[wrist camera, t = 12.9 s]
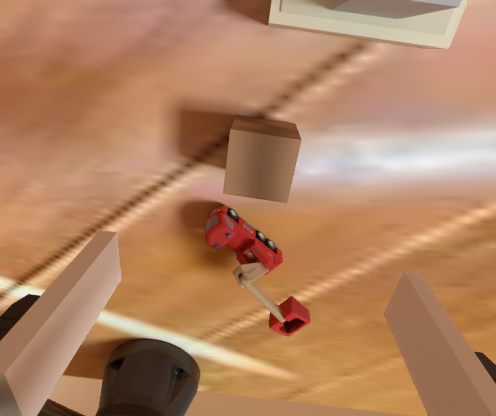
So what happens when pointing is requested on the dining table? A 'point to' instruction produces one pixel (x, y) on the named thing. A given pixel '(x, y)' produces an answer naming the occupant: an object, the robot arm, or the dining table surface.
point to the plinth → (368, 23)
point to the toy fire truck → (254, 266)
